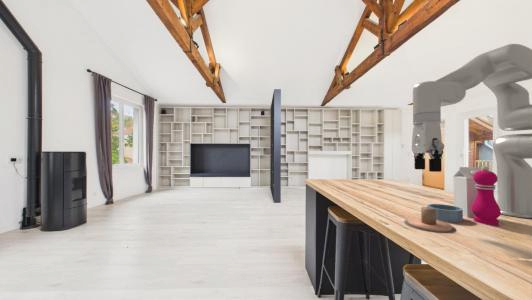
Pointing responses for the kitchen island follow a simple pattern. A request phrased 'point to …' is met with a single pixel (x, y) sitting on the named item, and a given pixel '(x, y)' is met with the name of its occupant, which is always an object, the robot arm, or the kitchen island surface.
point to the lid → (429, 221)
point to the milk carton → (465, 189)
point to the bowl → (447, 212)
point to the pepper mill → (485, 198)
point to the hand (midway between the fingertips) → (427, 170)
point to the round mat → (431, 231)
